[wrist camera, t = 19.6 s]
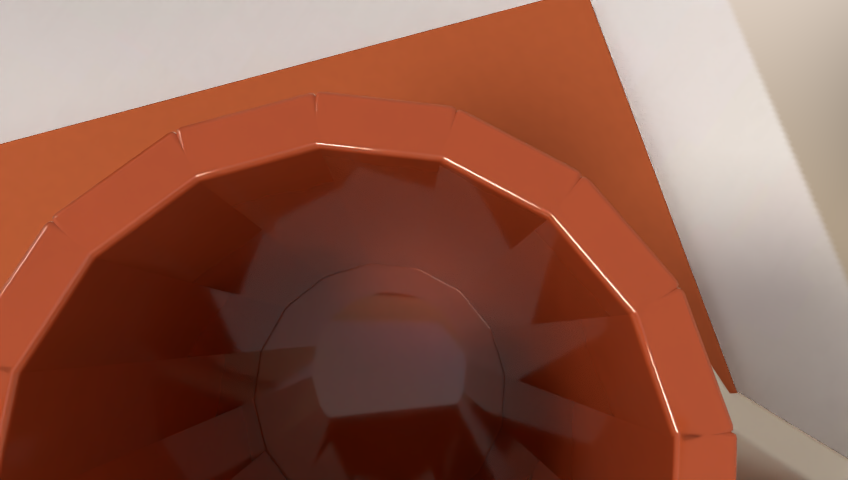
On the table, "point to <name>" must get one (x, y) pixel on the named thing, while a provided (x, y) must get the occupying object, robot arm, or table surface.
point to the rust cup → (351, 314)
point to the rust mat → (407, 81)
